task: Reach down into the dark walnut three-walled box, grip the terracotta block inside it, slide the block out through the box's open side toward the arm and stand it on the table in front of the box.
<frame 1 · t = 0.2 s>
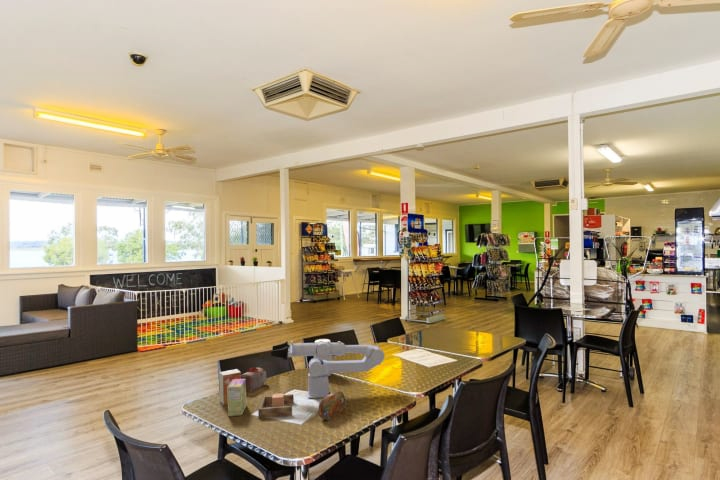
hand: (271, 350, 186), 21 cm above the table, tool horizontal, fingers open, 7 cm apart
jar: (323, 375, 217), on the table
food item: (253, 388, 200), on the table
small box: (230, 401, 184), on the table
open box: (278, 409, 172), on the table
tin: (332, 416, 165), on the table
block: (278, 402, 172), in the open box
box: (237, 411, 172), on the table
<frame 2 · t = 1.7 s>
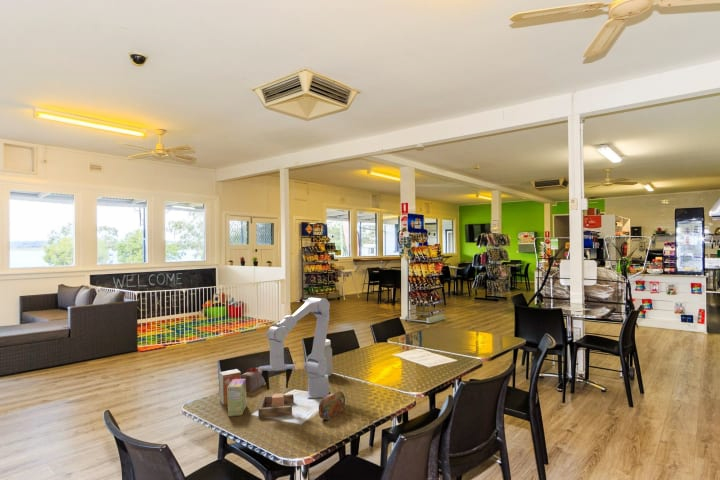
hand: (277, 388, 172), 9 cm above the table, tool pointing down, fingers open, 7 cm apart
nothing on the table moved.
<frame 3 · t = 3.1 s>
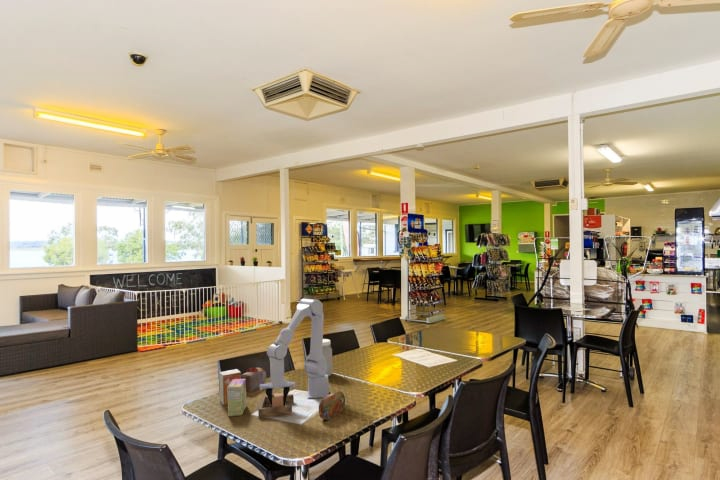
hand: (278, 405, 172), 2 cm above the table, tool pointing down, fingers closed on block, 4 cm apart
block: (278, 402, 172), in the open box, touching gripper
everything else where it was.
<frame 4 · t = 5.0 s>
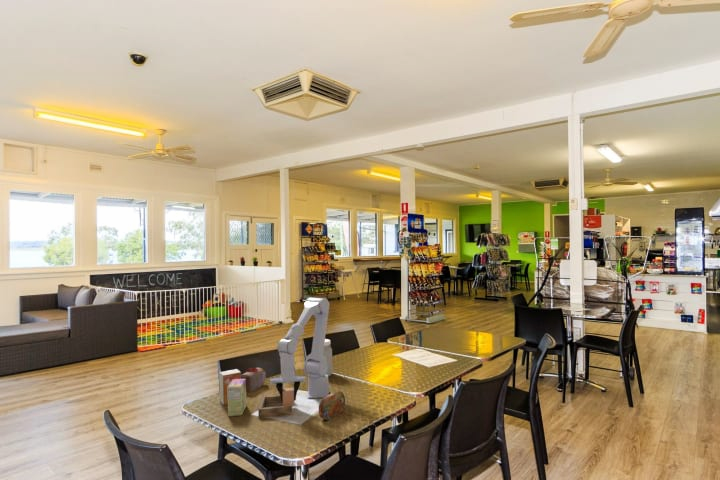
hand: (288, 400, 173), 4 cm above the table, tool pointing down, fingers closed on block, 4 cm apart
block: (288, 397, 173), point 5 cm above the table, touching gripper
everything else where it was.
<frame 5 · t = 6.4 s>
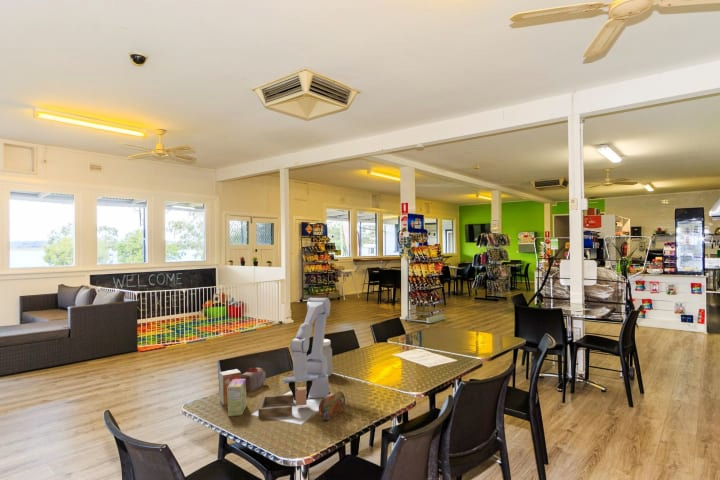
hand: (301, 399, 173), 4 cm above the table, tool pointing down, fingers closed on block, 4 cm apart
block: (301, 396, 173), point 5 cm above the table, touching gripper
everything else where it was.
when the fingers open (3 cm above the table, at t = 7.3 s): block drops 1 cm, on the table.
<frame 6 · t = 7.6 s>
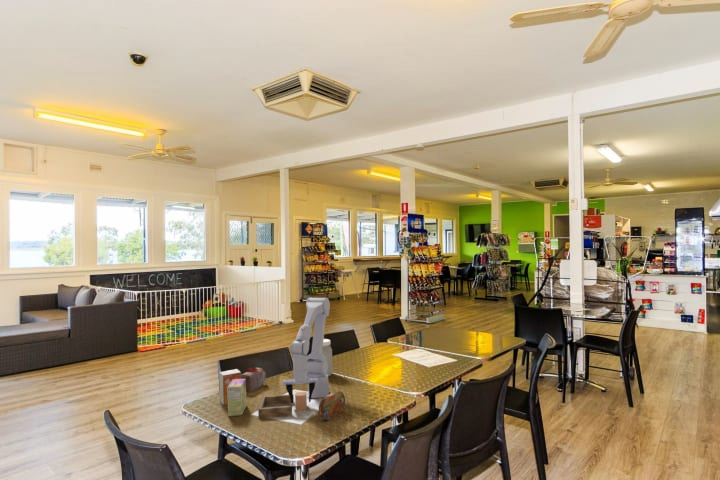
hand: (301, 401, 173), 3 cm above the table, tool pointing down, fingers open, 7 cm apart
block: (301, 401, 173), on the table
everything else where it was.
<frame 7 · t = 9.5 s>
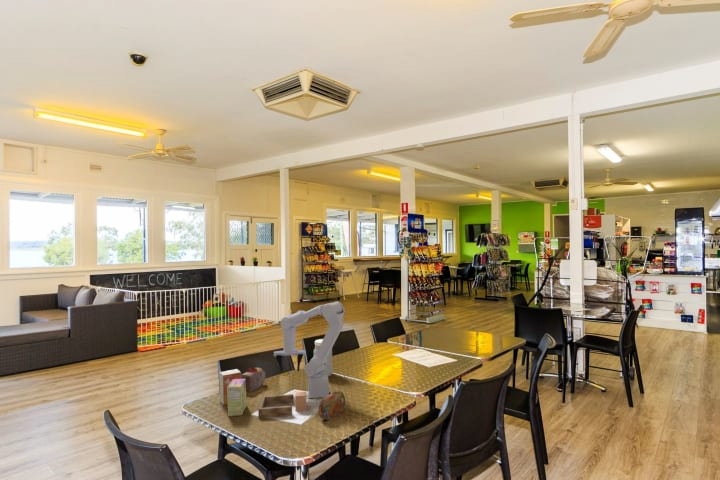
hand: (290, 370, 195), 9 cm above the table, tool pointing down, fingers open, 7 cm apart
nothing on the table moved.
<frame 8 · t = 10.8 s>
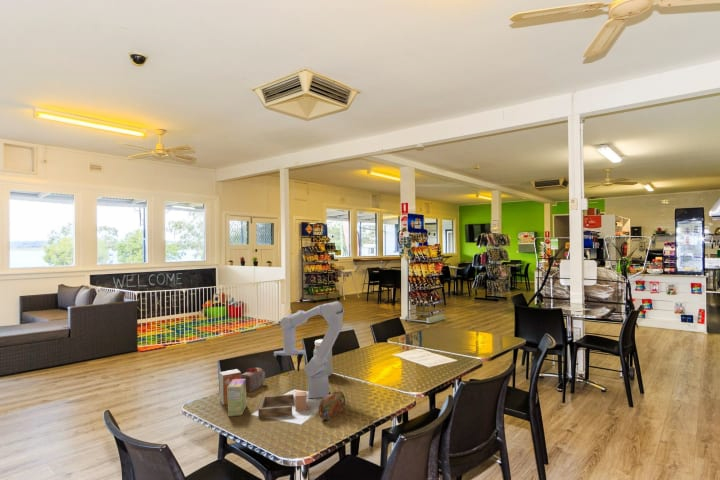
hand: (290, 370, 195), 9 cm above the table, tool pointing down, fingers open, 7 cm apart
nothing on the table moved.
at the end: block inside the target area (1.2 cm from its centre), on the table; block tilted 0°; the gripper is holding nothing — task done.
